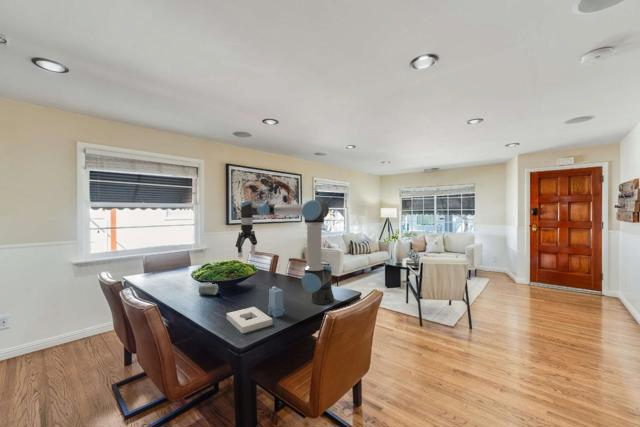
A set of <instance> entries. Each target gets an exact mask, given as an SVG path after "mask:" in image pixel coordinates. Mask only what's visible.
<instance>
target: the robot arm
mask: <svg viewBox="0 0 640 427" xmlns="http://www.w3.org/2000/svg"><path fill="white" fill-rule="evenodd" d="M329 212H330V208H329V205H328V204H327V203H326V202H325V201H323V200H317V199H311V200H307V201H306V202H304V203H296V204H295V203H291V204H289V203H288V204H287V203H285V204H284V203H281V204H280V203H279V204H277V203H275V204H274V203H273V204H271V203H269V204H268V203H254V202H253V200H242V201H241V203H240V224H241V225H240V230H241V231H238V236H237V239H236V242H235V247H236V248H237V253H238V254H237V256H238V257H237V258H240V259H243V245H244V242H245V240H246V239H248V240H249V241H250V243H251V245H250V254H251V255H256V246H257V244H258V240H257V237H256V234H255V230H253V229H254V228H253V226H254V225H253V224H254V223H253V220H254V217H253V216H261V217H265V216H302V217H303V218H304V224H305V225H306V235H307V236H306V266H305V267H304V275H302V277H301V285H302V287H303V289H305V290H306V291H307V292H308V293H311V296H310V302H311V303H312V304H315V305H330V304H333V303H334V302H335V295H334V292H333V290H332V282H333V281H332V279H333V278H332V277H333V276H332V274H333V273H332V272H333V271H332V266H331V265H327V264H322V226H323V225H324V224H325V218H326V217H328V215H329Z"/></svg>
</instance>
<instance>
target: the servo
mask: <svg viewBox="0 0 640 427" xmlns="http://www.w3.org/2000/svg"><path fill="white" fill-rule="evenodd" d="M266 307H267V308H268V309H267V310H268V315H267V316H272V317H274V318H277V317H282V316H284V312H285V311H286V310H285V308H284V290H283V289H281V288H278V287H277V286H272V287H271V288H269V290H268V305H267V306H266Z"/></svg>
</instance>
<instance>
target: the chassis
mask: <svg viewBox="0 0 640 427" xmlns="http://www.w3.org/2000/svg"><path fill="white" fill-rule="evenodd" d="M226 320H228V322H229V323H231V324H232V326H234V327H235V328H236V329H237V330H238V331H239V332H240V333H241V334H245V333H250V332H252V331H256V330H259V329H262V328H267V327H270V326H273V324H274V323H273V318H272V317H270V315H267V314H266V313H264V312H263V311H262V310H260V309H258V308H257V307H255V306H250V307H247V308H244V309H242V308H241V309H239V310H234V311H231V312H226Z"/></svg>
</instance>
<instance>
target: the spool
mask: <svg viewBox="0 0 640 427" xmlns="http://www.w3.org/2000/svg"><path fill="white" fill-rule="evenodd" d="M212 283H213V282H202V283H200V284H199V286H198V294H200V295H208V296H216V295H217V293H218V291H219V285H218V284H216V283H215V284H212Z"/></svg>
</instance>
